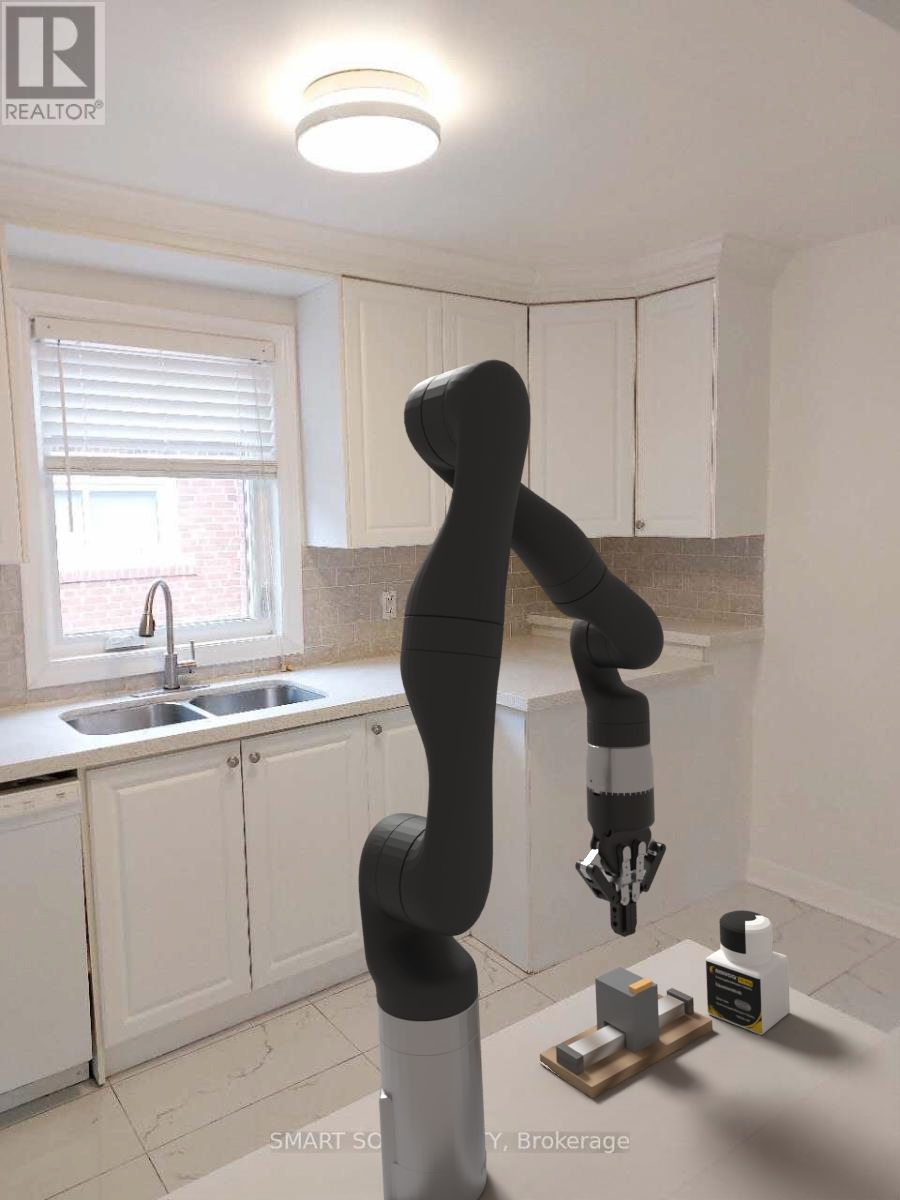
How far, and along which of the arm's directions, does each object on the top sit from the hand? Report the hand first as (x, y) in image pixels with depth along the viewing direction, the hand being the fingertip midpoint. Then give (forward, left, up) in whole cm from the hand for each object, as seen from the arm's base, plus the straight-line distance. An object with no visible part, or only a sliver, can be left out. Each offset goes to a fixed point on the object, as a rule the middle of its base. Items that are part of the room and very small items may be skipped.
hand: (623, 933), depth 96 cm
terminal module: (0, 0, -12) cm, 12 cm away
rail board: (0, 0, -13) cm, 13 cm away
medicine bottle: (+16, +6, -14) cm, 22 cm away
